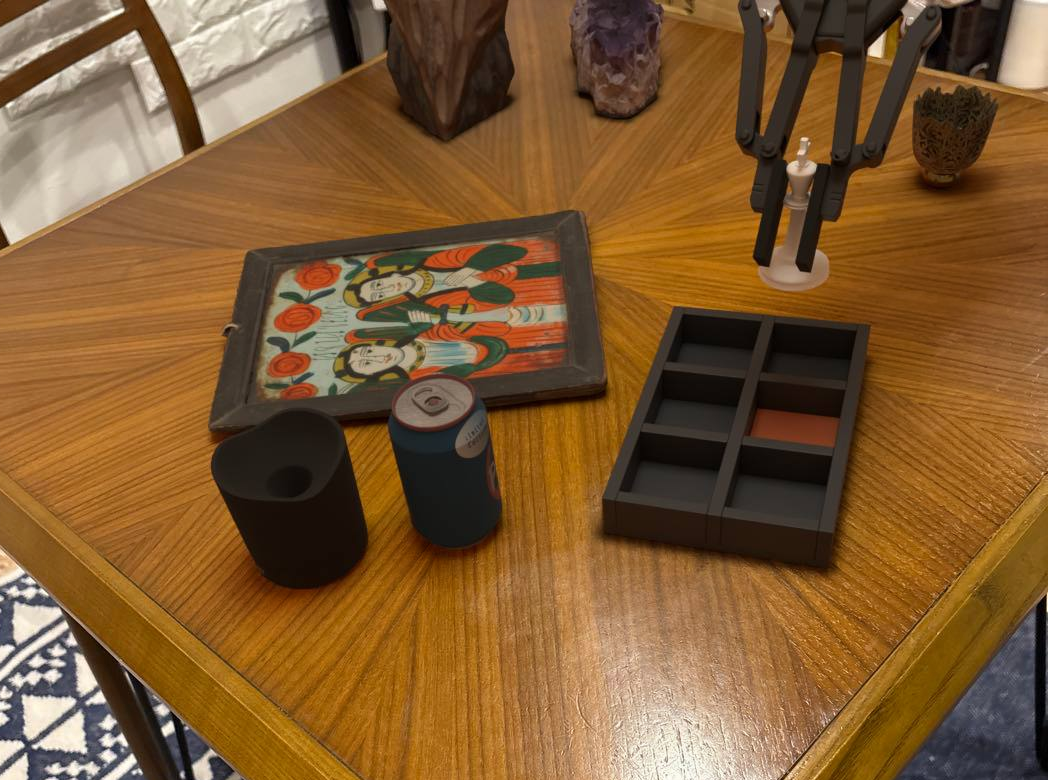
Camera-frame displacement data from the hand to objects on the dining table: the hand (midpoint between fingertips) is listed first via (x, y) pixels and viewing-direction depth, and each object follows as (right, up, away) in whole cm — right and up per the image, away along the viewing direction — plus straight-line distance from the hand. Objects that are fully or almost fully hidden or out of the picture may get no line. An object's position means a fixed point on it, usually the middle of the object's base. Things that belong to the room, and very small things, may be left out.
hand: (782, 264), depth 74 cm
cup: (+24, +17, +34) cm, 45 cm away
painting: (-27, +1, +28) cm, 39 cm away
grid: (0, -11, +12) cm, 16 cm away
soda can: (-22, -17, +10) cm, 30 cm away
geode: (-5, +36, +57) cm, 67 cm away
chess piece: (+2, 0, +5) cm, 5 cm away
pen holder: (-33, -19, +9) cm, 39 cm away
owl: (-25, +32, +56) cm, 69 cm away
